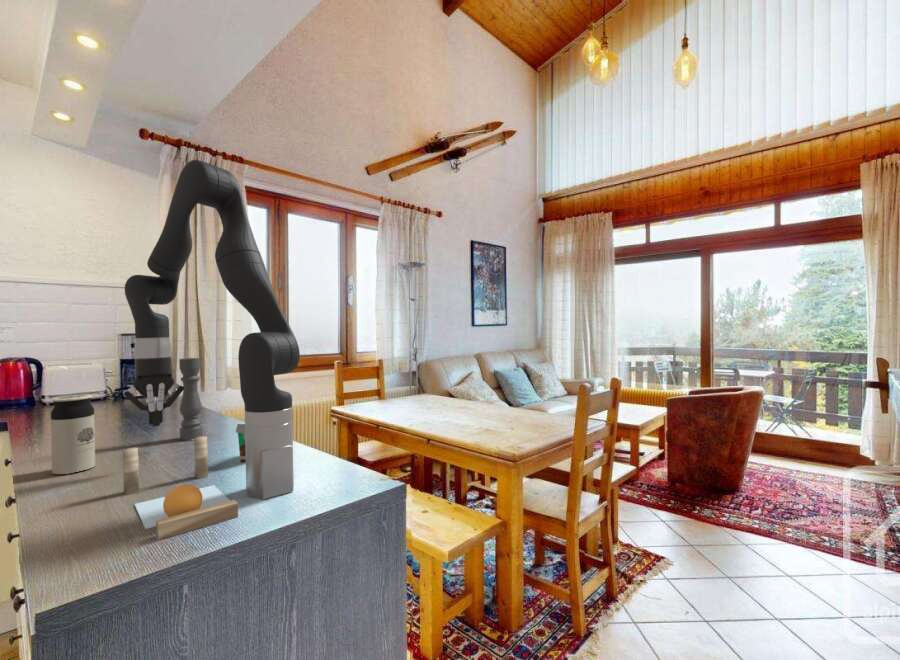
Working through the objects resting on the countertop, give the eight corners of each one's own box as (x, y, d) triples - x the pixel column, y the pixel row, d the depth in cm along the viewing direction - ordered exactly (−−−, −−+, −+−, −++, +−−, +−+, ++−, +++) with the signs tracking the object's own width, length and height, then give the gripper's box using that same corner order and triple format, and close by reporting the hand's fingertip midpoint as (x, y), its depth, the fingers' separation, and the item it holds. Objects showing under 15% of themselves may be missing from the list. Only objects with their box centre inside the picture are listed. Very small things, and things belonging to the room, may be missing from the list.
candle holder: (175, 439, 132) (173, 359, 132) (193, 434, 138) (192, 357, 138) (189, 441, 130) (187, 359, 130) (207, 436, 136) (205, 358, 136)
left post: (139, 491, 90) (139, 449, 90) (124, 495, 88) (123, 451, 88) (138, 488, 92) (137, 446, 92) (123, 491, 90) (122, 449, 90)
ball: (198, 498, 82) (205, 520, 78) (160, 508, 78) (165, 532, 74) (199, 473, 80) (206, 494, 76) (160, 482, 76) (166, 505, 72)
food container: (258, 465, 106) (257, 425, 106) (236, 464, 108) (235, 424, 108) (286, 451, 118) (285, 415, 118) (266, 450, 120) (266, 414, 120)
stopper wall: (238, 516, 77) (237, 503, 77) (158, 539, 69) (158, 524, 69) (234, 513, 79) (234, 499, 79) (156, 535, 71) (156, 520, 71)
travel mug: (44, 473, 103) (42, 398, 103) (83, 463, 110) (81, 393, 110) (64, 477, 100) (62, 400, 100) (102, 466, 107) (101, 395, 107)
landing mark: (233, 505, 82) (233, 504, 82) (145, 529, 73) (145, 528, 73) (214, 486, 93) (214, 485, 93) (134, 505, 83) (134, 504, 83)
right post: (209, 476, 99) (208, 437, 99) (196, 479, 97) (195, 439, 97) (206, 473, 101) (205, 435, 101) (193, 476, 99) (193, 437, 99)
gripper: (121, 358, 99) (123, 433, 99) (187, 354, 108) (189, 423, 108) (118, 357, 104) (120, 428, 104) (181, 354, 113) (183, 419, 113)
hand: (155, 425), depth 106 cm, fingers closed
